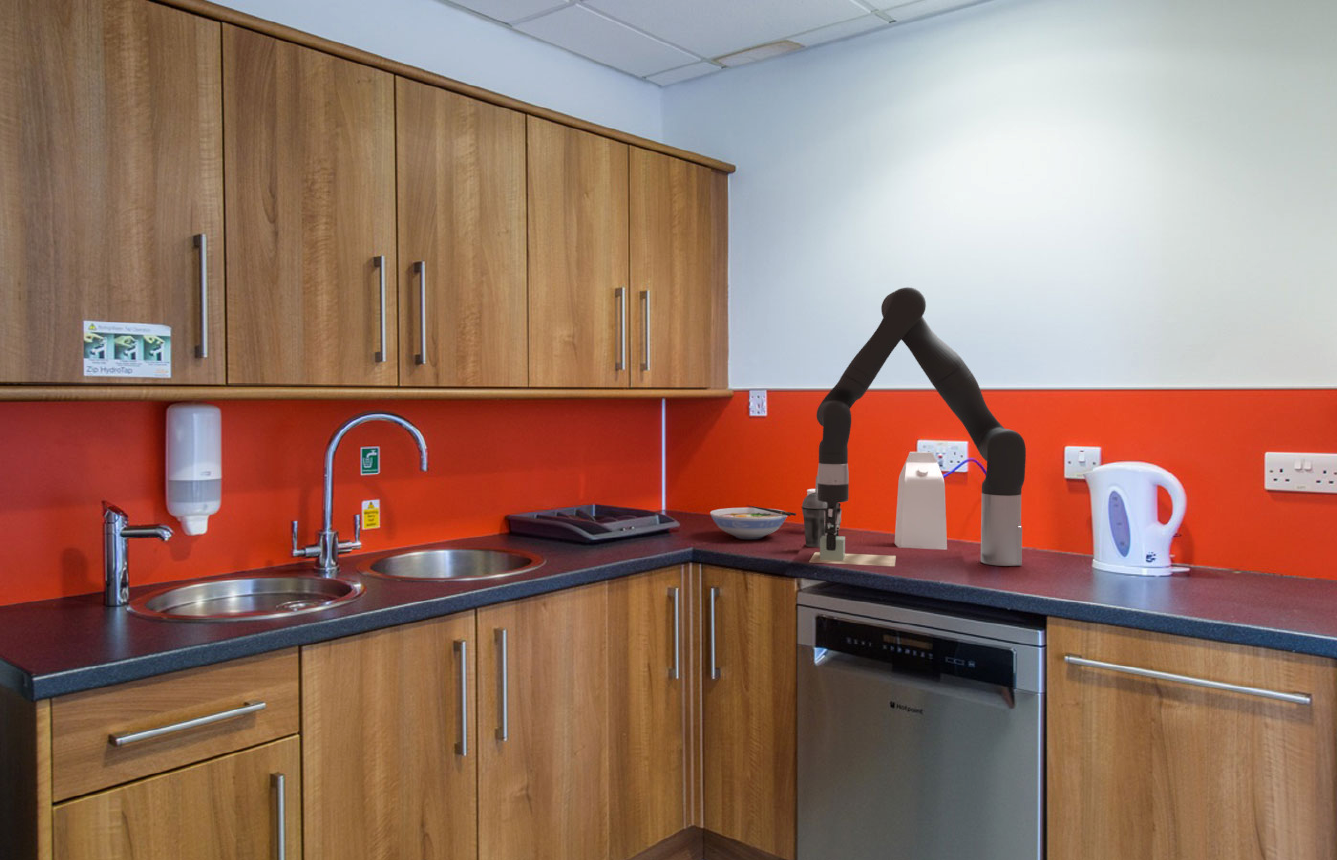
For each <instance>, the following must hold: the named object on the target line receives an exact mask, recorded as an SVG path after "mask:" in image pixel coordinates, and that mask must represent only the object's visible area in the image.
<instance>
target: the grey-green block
mask: <svg viewBox="0 0 1337 860" xmlns="http://www.w3.org/2000/svg"><path fill="white" fill-rule="evenodd" d="M819 552H820V560H840V561H843V560H844V558H845V554H846V536H836V549H835V550H834V551H830V550H827V549H826V536H822V537H821V538H820V547H819Z"/></svg>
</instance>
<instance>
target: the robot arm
mask: <svg viewBox="0 0 1337 860" xmlns="http://www.w3.org/2000/svg"><path fill="white" fill-rule="evenodd" d="M926 303H927V302H926V298H925V296H924V295H923V293H922V292H921V291H920V290H918V289H916V288H914V287H901V288H898V289H897V290H895V291H893V292H891V293H889V294H887V295H886V296H885V298H884V299H883V300H882V303H881V315H882V319H881V321H880V323H879V325H878V327H877V328H876V330H875V331H874V332H873V334H872V336H870V338H869V339H868V340H867V342H866V343H865V344H864V345H863V346H862V347H861V349H859V351H858V352H857V353H856V355H855V356H854V357H853V359H851V361H850V363H849V364H848V366H847V367H846V369H845V370H844V371H843V373H842V375H841V376H840V377H839V380H838V382H837V383H836V384H835V385H834V387H832V389H831V390H830V391H829V392H828V394H826V396H825V397H824V398H823V400H822V401H821V402H820V404H819V405H818V406H817V407H818V408H817V410H816V420H817V422H818V423H819V425H820V426H822V427H823V428H822V440H821V441H820V442H819V445H818V466H817V467H818V468H817V476H818V486H817V489H818V492H817V498H818V500H819V501H821V502H827V508H825V509H824V516H825V520H824V524H825V533H826V549H827V550H830V551H834V550H835V549H836V536H839V535H840V533H839V532H840V528H841V522H842V508H841V503H847V502H848V501H849V496H850V495H849V492H850V491H849V486H850V485H849V483H850V479H849V477H850V476H849V475H850V474H849V473H850V471H849V461H848V460H849V458H848V457H849V448H848V444H849V440H850V435H851V434H850V433H851V427H852V412H851V408H852V407H853V405H854V404H855V402H857V401H858V400H859V399H861V398H862V397H863V396H864V395H865V394H866V392H867V391H868V390H869V388H870V386H871V385H872V383H873V381H874V380H875V378H876V377H877V376H878V374H879V372H880V371H881V369H882V368H883V366H884V364H885V363H886V361H887V360H888V358H889V357H890V355H891V354H892V352H893V351H894V350H895V348H896V347H897V346H898V344H899V343H900V341H902V343H904V344H905V346H906V347H907V349H909V351H910V353H911V354H912V356H913V357H914V358H915V361H916V362H917V364H918V365H919V366H920V368H921V369H922V372H924V374H925V376H926V377H927V378H928V380H929V382H930V383H931V384H932V387H934V389H935V390H936V392H938V394H939V396H940V397H941V399H942V400H944V402H945V403H946V404H947V406H948V408H950V410H951V412H952V413H954V415H955V416H956V417H957V418H958V420H959V421H960V422H961V424H962V425H963V426H964V429H966V431H967V434H968V435H969V437H970V438H971V440H972V442H973V444H974V446H975V447H976V449H977V450H978V451H977V452H979V454H980V456H981V457H982V459H984V461H986V474H985V477H984V479H983V481H982V482H981V508H980V509H981V510H980V511H981V513H980V514H981V515H980V517H981V521H980V522H981V523H980V562H981V563H983V564H985V565H990V566H1003V567H1008V566H1009V567H1014V566H1022V563H1023V562H1022V561H1023V559H1022V558H1023V557H1022V556H1023V555H1022V554H1023V551H1022V550H1023V526H1022V488H1023V485H1024V483H1025V477H1026V475H1025V474H1026V463H1027V462H1026V457H1027V454H1026V453H1027V448H1026V443H1025V440H1024V438H1023V436H1021V434H1020V433H1019V432H1017V431H1016V430H1012V429H1009V428H1005V427H1004V426H1003V425H1001V423H1000V422H999V421H998V419H997V418H996V417H995V415H994V414H993V413H992V412H991V410H990V409H989V407H988V406H987V404H986V401H985V399H984V396H983V394H982V391H981V388H980V385H979V383H978V381H977V380H976V377H975V376H974V374H973V372H972V371H971V369H970V368H969V367H968V365H967V364H966V362H965V361H964V360H963V359H962V357H961V356H960V355H959V354H958V353H957V352H956V351H955V350H954V349H953V348H952V347H950V346H949V345H948V344H947V343H946V342H944V341H943V340H942V339H941V338H940V337H939V336H937V334H936V333H935V332H934V331H933V330H932V328H931V327H930V325H929V324H928V323H927V321H926V320H925V318H924V317H923V316H924V314H925V312H926V307H927V304H926Z"/></svg>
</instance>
